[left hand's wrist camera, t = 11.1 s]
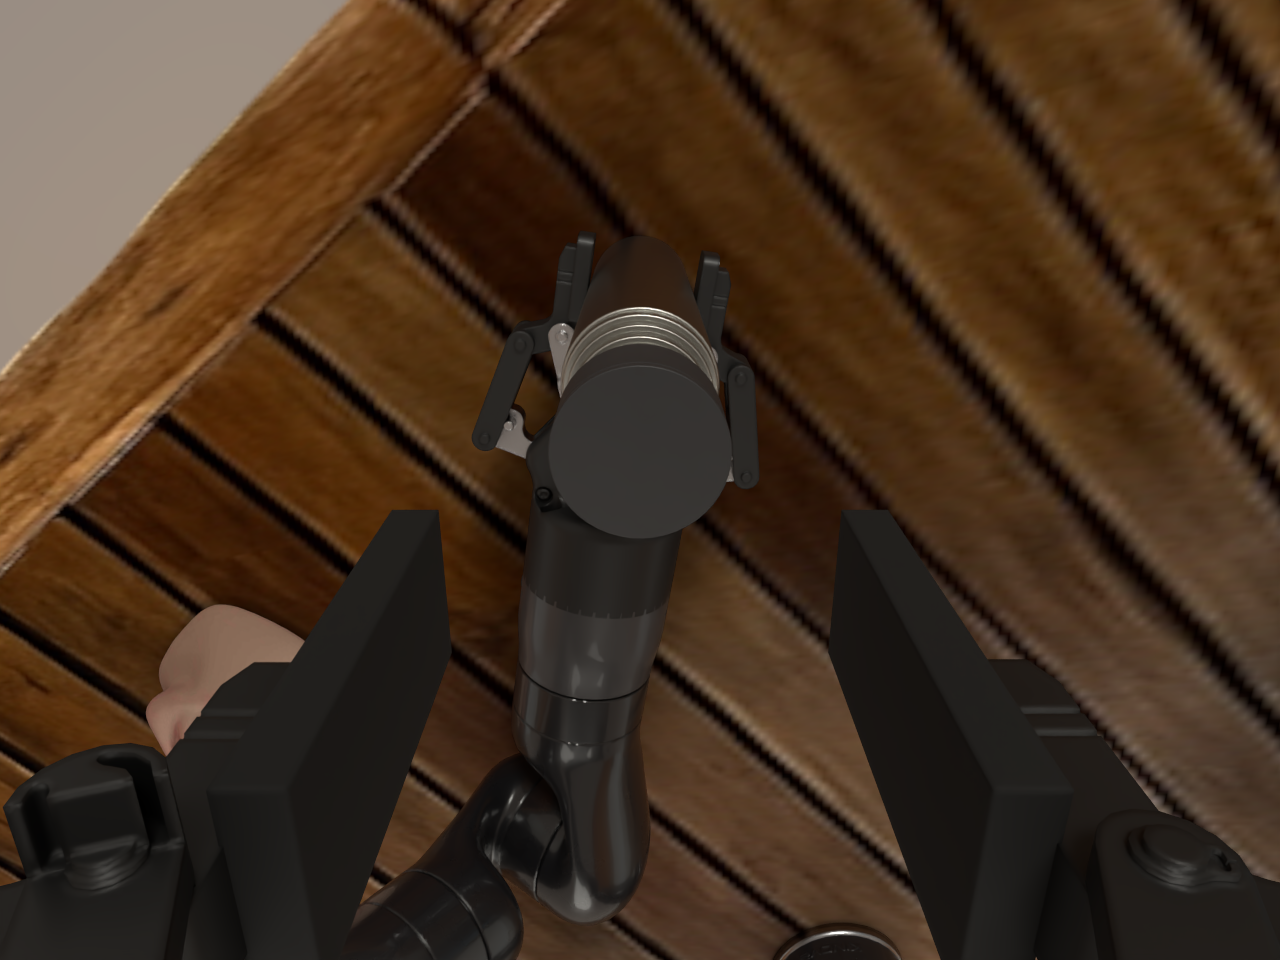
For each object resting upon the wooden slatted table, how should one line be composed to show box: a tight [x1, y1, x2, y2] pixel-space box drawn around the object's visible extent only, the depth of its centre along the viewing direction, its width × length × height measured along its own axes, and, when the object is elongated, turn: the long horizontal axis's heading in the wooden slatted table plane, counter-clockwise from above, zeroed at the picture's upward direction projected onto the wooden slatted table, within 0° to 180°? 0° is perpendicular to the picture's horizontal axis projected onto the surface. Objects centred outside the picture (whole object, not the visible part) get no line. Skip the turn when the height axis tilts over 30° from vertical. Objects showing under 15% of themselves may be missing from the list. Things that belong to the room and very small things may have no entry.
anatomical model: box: [146, 605, 305, 756], centre depth 52 cm, size 13×4×12 cm
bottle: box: [561, 236, 720, 396], centre depth 33 cm, size 5×5×25 cm
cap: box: [548, 344, 732, 538], centre depth 21 cm, size 4×4×2 cm
